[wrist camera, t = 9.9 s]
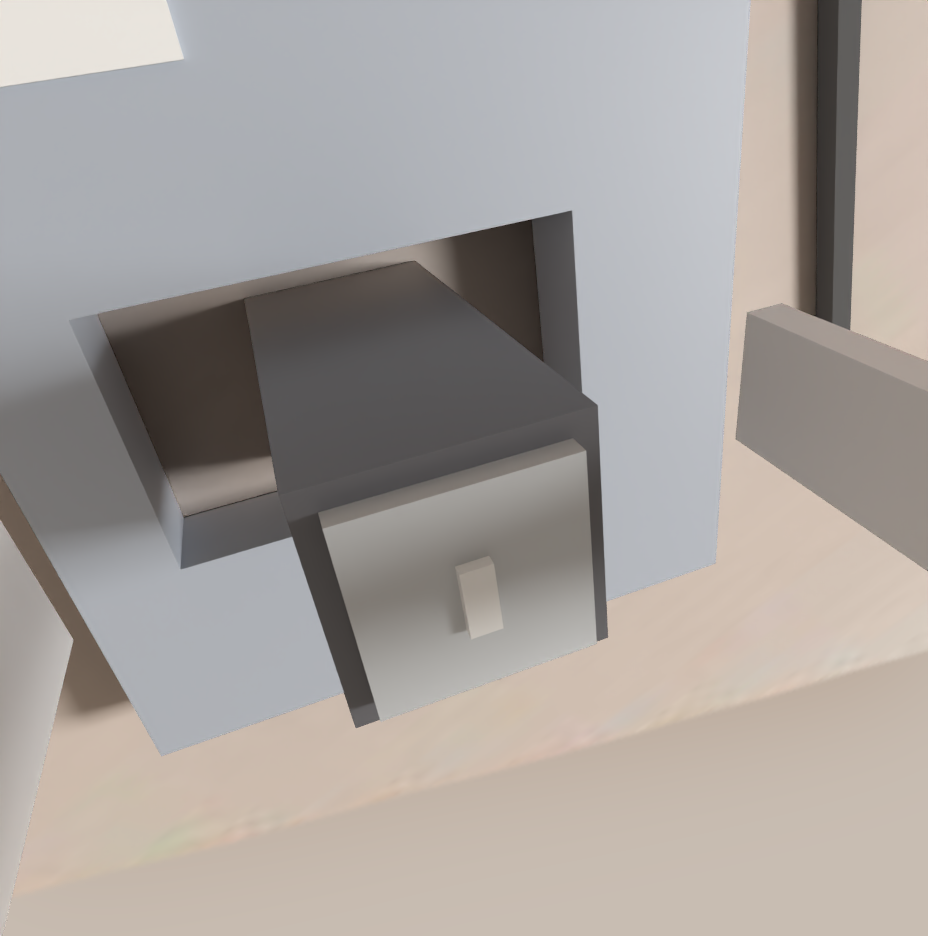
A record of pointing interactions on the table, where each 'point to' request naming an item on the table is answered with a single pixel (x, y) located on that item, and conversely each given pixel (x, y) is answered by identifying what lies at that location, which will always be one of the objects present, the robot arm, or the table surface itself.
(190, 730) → the plate
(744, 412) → the robot arm
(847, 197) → the cable
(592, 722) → the table surface
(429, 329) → the charger plug
